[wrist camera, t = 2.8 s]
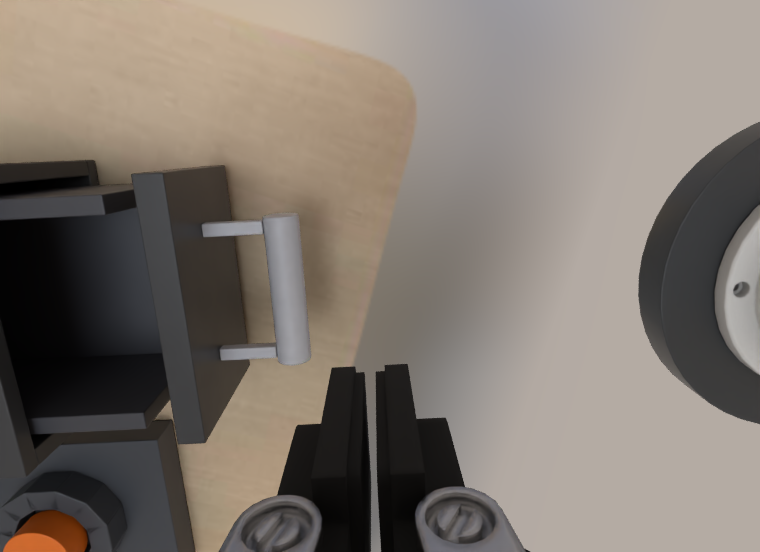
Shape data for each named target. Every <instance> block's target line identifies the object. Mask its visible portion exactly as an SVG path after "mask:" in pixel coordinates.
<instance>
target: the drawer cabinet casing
mask: <svg viewBox="0 0 760 552" xmlns="http://www.w3.org/2000/svg"><path fill="white" fill-rule="evenodd" d="M97 185H99V182H98V176H97V171H96V166H95V161H94V160H79V161H54V162H30V163H5V164H0V190H16V189H36V188H56V187H77V186H97ZM72 433H73V432H71V433H51V434H31V435H30V431H29V427H28V423H27V419H26V416H25V412H24V408H23V404H22V400H21V396H20V393H19V389H18V385H17V381H16V377H15V373H14V370H13V366H12V362H11V358H10V354H9V350H8V347H7V343H6V339H5V335H4V331H3V327H2V324H1V320H0V478H20V477H27V476H28V475H29V474H30V473H31V472H32V471H33V470H34V469H35V468H36V467H37V466H38V465H40V464H41V463H42V462H43V461H44V460H45V459H46V458H47V457H48V456H49V455H50V454H51V453H52V452H53V451H54V450H55V449H57V448H58V447H59V446H60V445H61V444H62V443H63V442H64V441H65V440H66V439H67V438H68V437H69V436H70V435H71V434H72Z"/></svg>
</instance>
